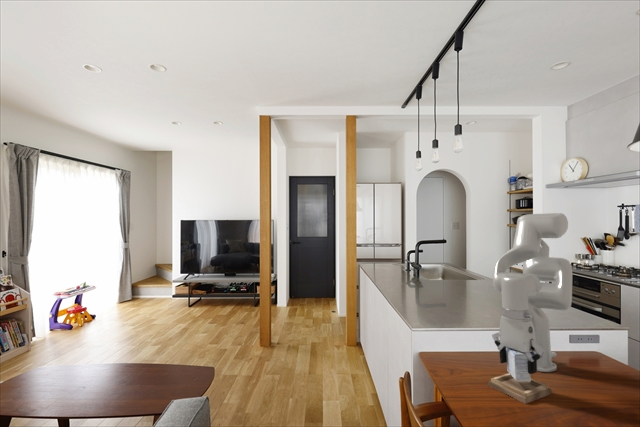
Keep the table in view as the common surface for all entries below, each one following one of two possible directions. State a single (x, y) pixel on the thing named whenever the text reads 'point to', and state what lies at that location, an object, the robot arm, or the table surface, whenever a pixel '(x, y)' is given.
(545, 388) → the square wooden tray
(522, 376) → the medicine box
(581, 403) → the table surface
